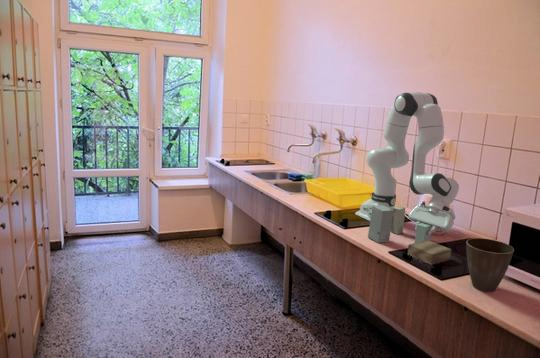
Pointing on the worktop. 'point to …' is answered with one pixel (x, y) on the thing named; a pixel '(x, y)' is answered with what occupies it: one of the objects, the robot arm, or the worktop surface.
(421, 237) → the sage column
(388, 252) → the worktop surface
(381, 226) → the skincare box
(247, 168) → the worktop surface
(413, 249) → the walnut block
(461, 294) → the worktop surface
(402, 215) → the box
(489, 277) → the plant pot
